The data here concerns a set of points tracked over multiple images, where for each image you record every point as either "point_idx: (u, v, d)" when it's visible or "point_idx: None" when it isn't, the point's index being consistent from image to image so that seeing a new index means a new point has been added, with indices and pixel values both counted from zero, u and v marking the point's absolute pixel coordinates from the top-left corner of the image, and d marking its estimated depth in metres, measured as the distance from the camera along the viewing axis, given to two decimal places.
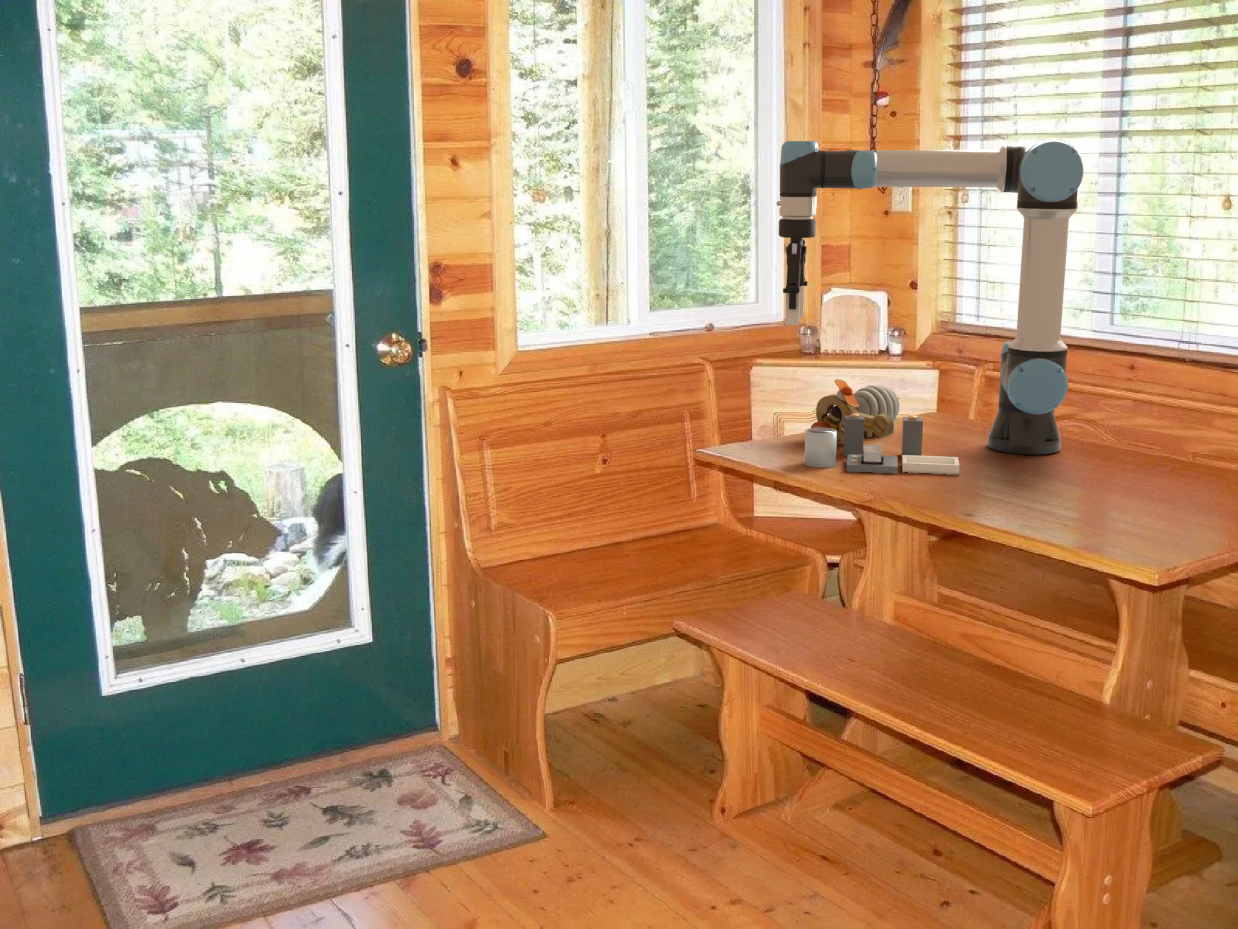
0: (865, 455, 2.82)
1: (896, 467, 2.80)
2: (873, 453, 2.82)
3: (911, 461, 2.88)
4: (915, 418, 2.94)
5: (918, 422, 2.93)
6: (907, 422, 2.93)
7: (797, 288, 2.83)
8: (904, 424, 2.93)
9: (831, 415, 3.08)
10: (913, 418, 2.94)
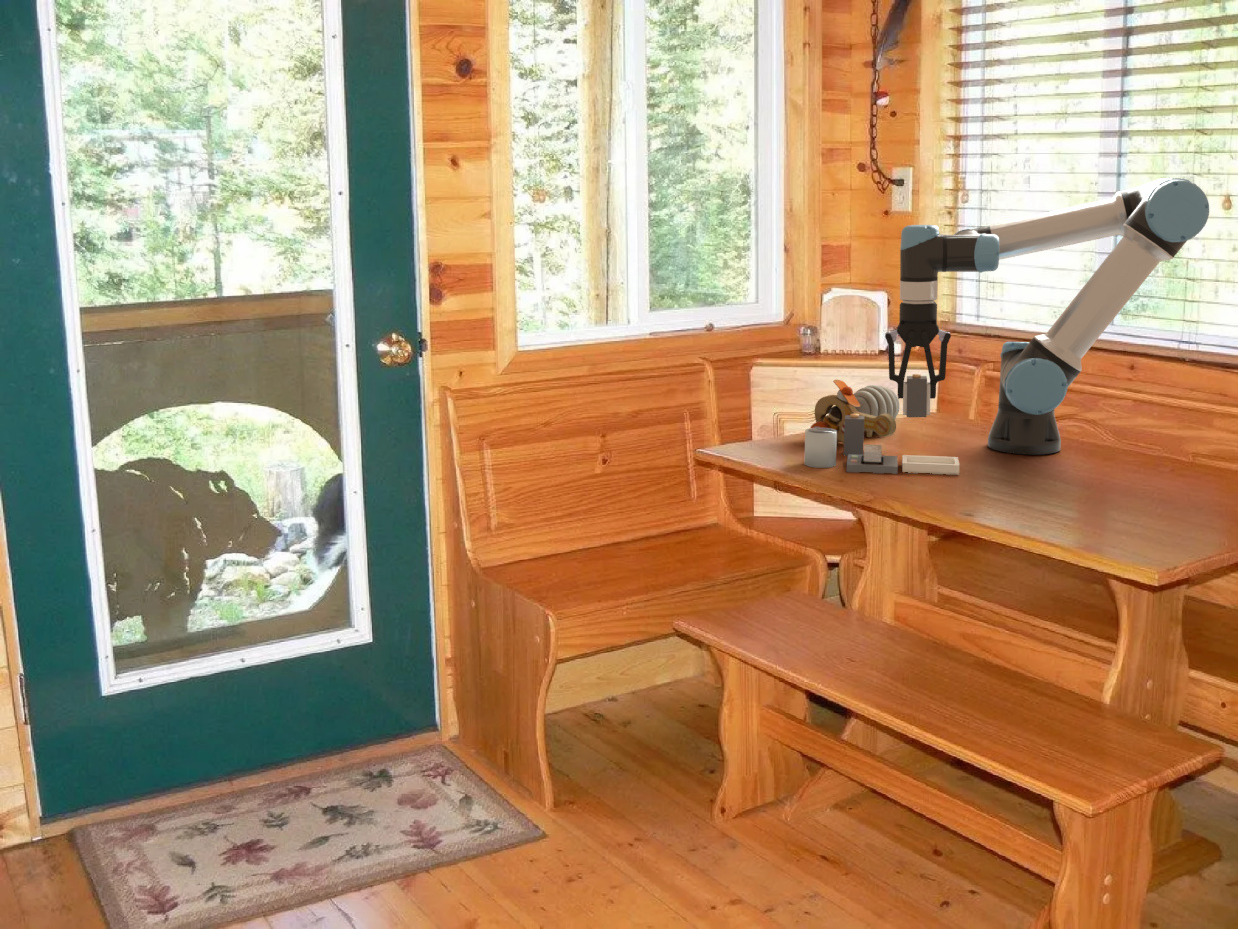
0: (865, 455, 2.82)
1: (896, 467, 2.80)
2: (873, 453, 2.82)
3: (911, 461, 2.88)
4: (919, 376, 2.92)
5: (922, 380, 2.90)
6: (911, 380, 2.91)
7: (890, 378, 2.93)
8: (908, 382, 2.91)
9: (831, 416, 3.07)
10: (917, 376, 2.92)
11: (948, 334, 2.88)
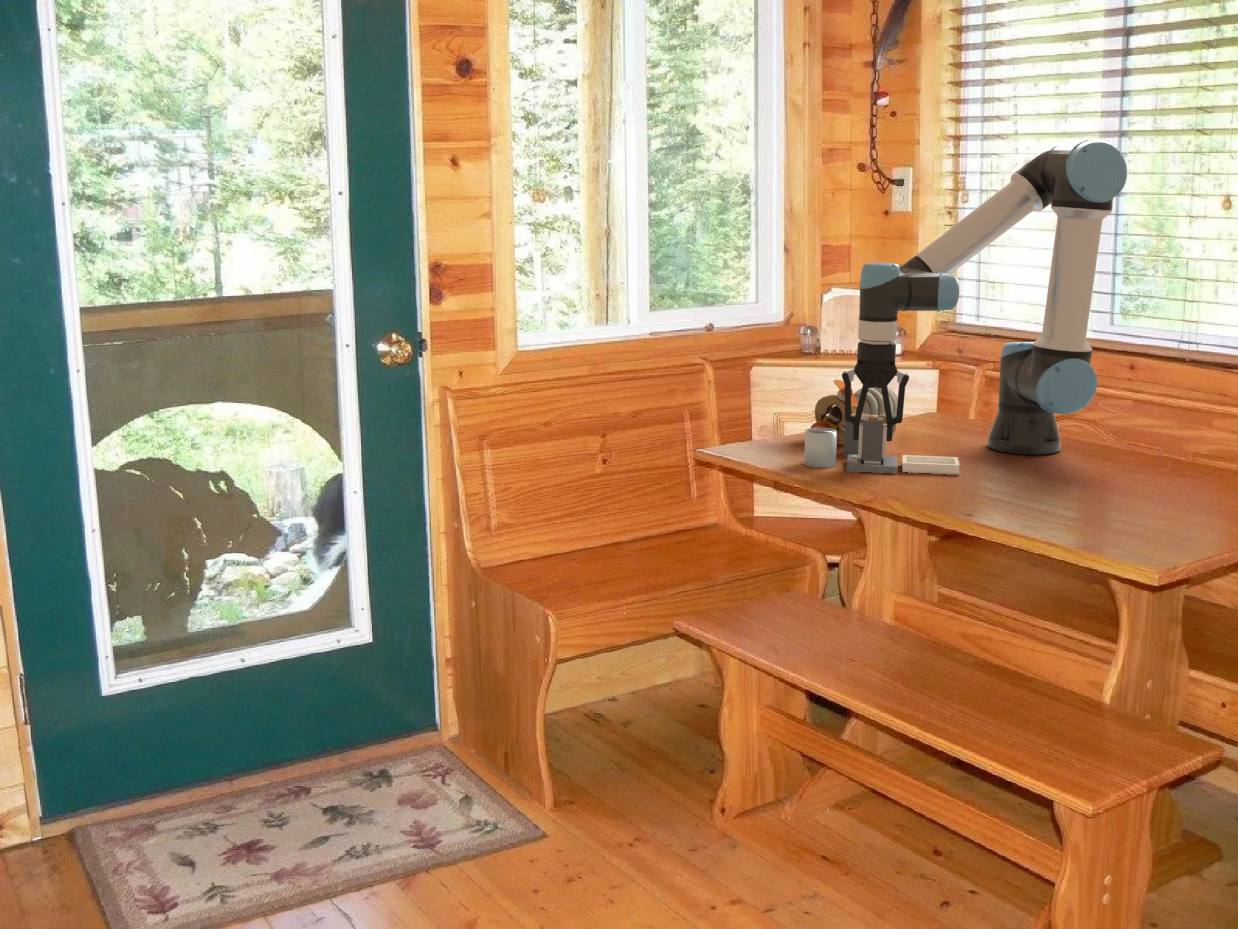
0: None
1: (896, 467, 2.80)
2: (873, 463, 2.82)
3: (911, 461, 2.88)
4: (875, 418, 2.83)
5: (878, 422, 2.82)
6: (867, 422, 2.82)
7: (845, 419, 2.84)
8: (864, 424, 2.83)
9: (831, 416, 3.07)
10: (873, 418, 2.83)
11: (906, 376, 2.80)
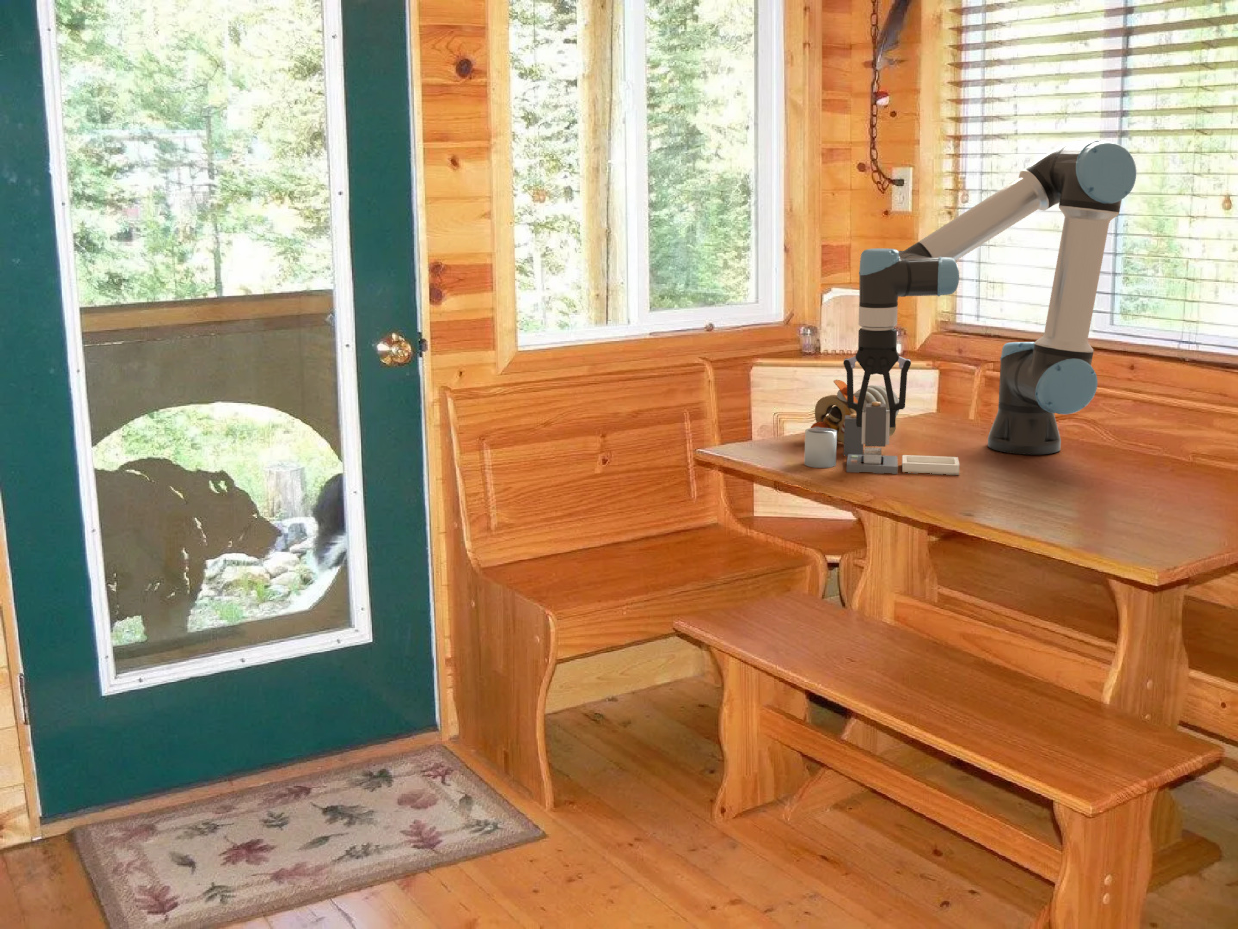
0: (865, 458, 2.83)
1: (896, 467, 2.80)
2: (873, 456, 2.82)
3: (911, 461, 2.88)
4: (878, 404, 2.83)
5: (881, 408, 2.81)
6: (870, 409, 2.82)
7: (848, 406, 2.83)
8: (867, 411, 2.82)
9: (831, 416, 3.07)
10: (876, 404, 2.83)
11: (908, 362, 2.79)
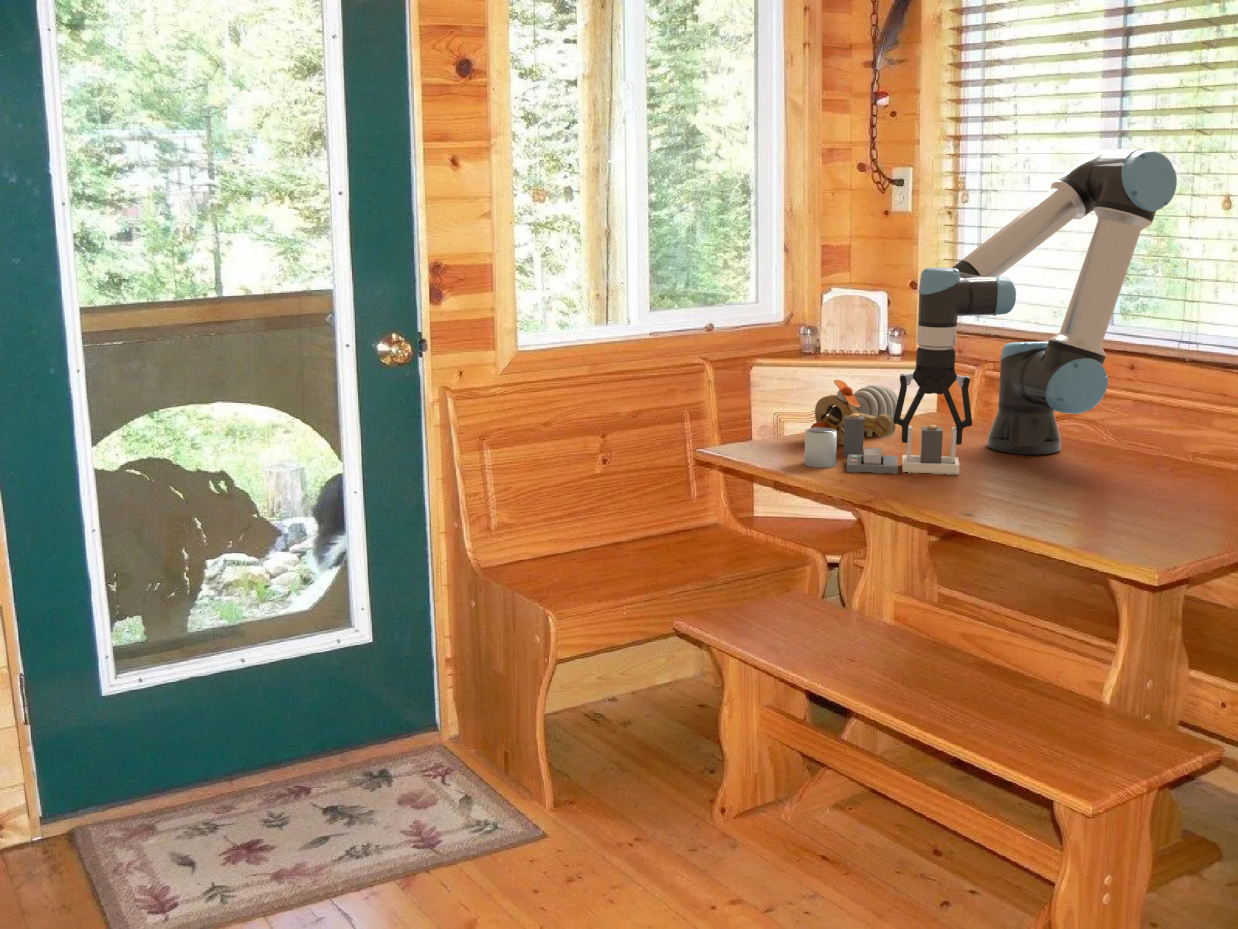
0: (865, 458, 2.83)
1: (896, 467, 2.80)
2: (873, 456, 2.82)
3: (911, 461, 2.88)
4: (934, 428, 2.82)
5: (938, 432, 2.80)
6: (926, 432, 2.81)
7: (894, 421, 2.82)
8: (923, 434, 2.81)
9: (831, 416, 3.07)
10: (932, 428, 2.81)
11: (967, 378, 2.78)
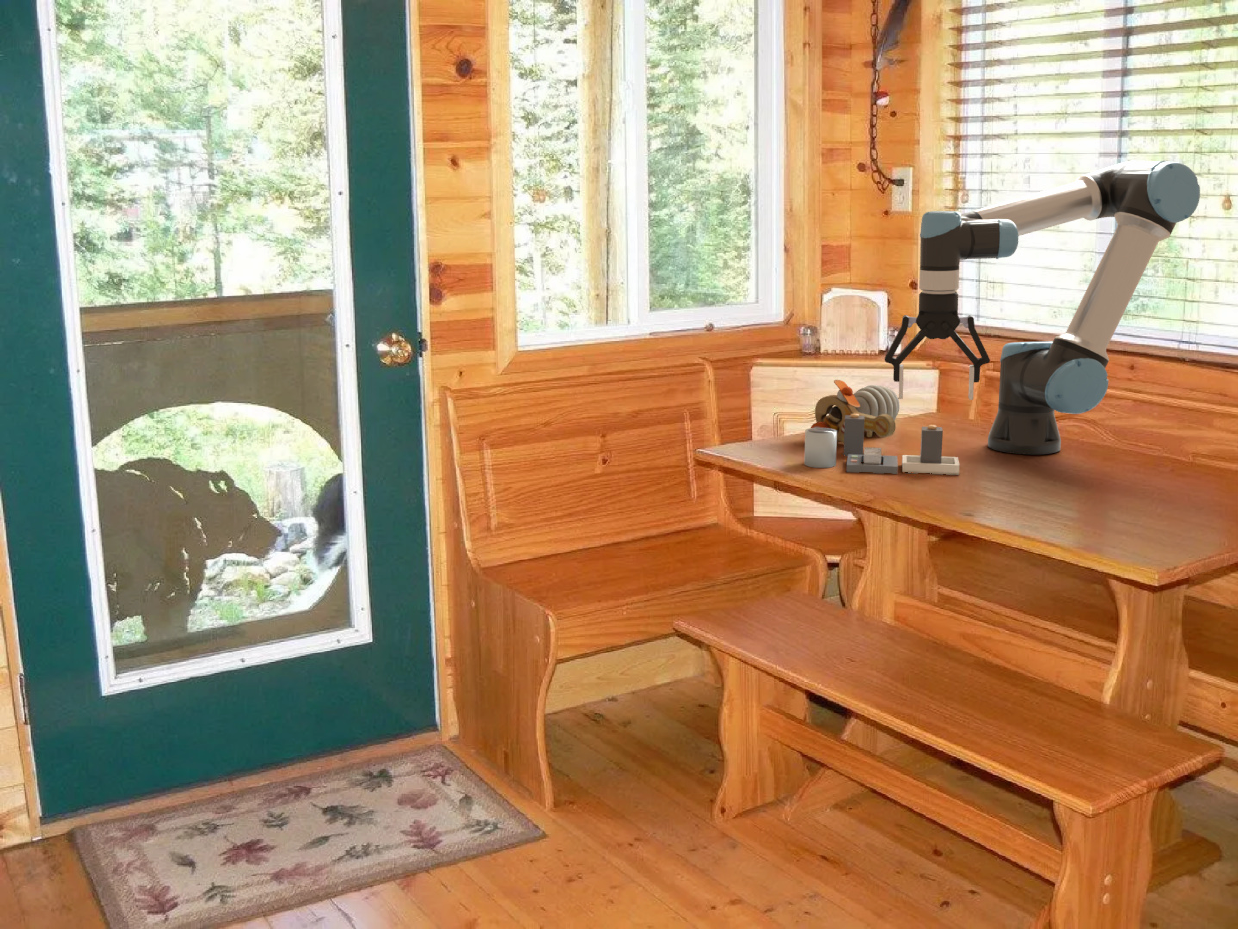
0: (865, 458, 2.83)
1: (896, 467, 2.80)
2: (873, 456, 2.82)
3: (911, 461, 2.88)
4: (934, 428, 2.82)
5: (938, 432, 2.80)
6: (926, 432, 2.81)
7: (885, 360, 2.80)
8: (923, 434, 2.81)
9: (831, 416, 3.07)
10: (932, 428, 2.81)
11: (970, 318, 2.75)
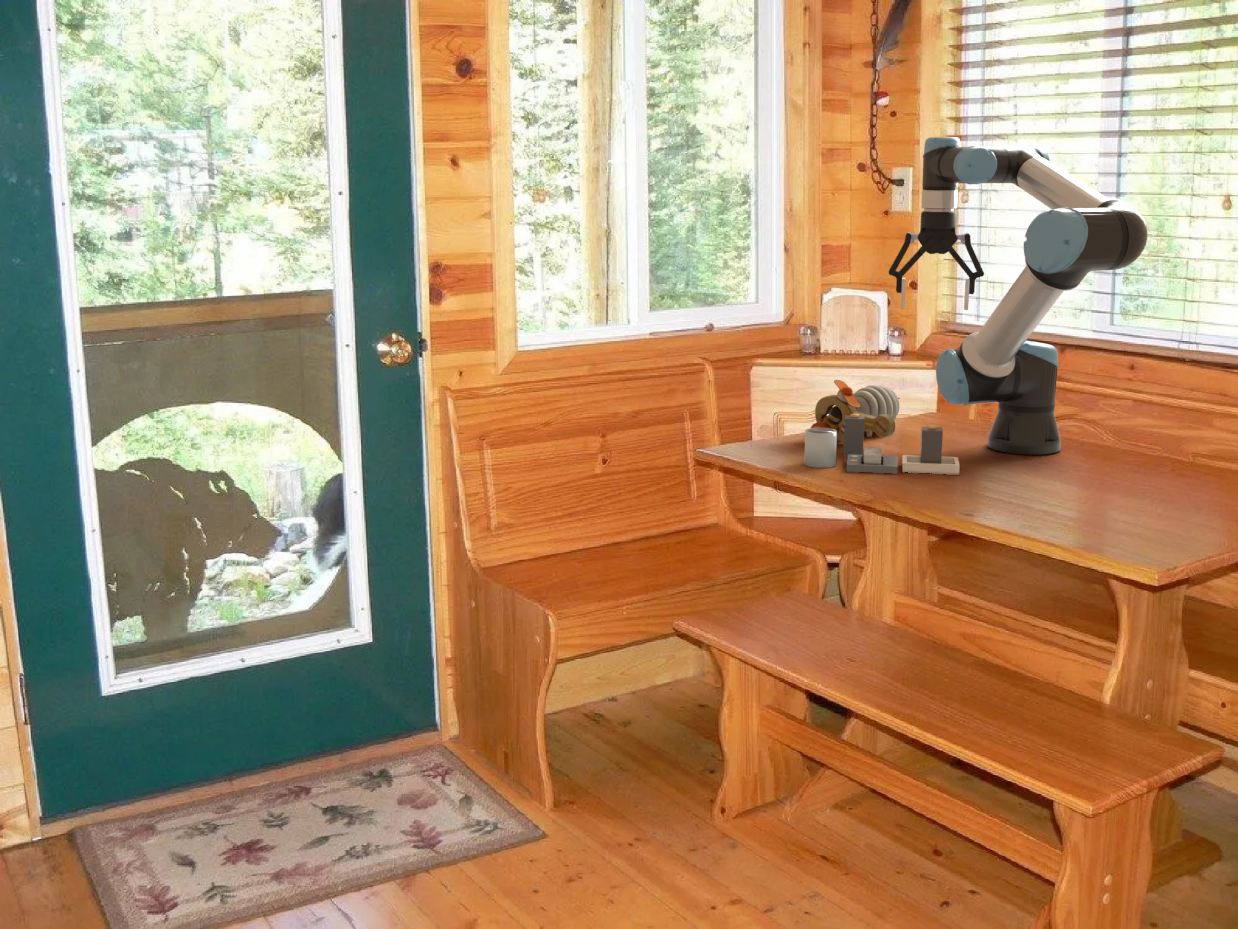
0: (865, 458, 2.83)
1: (896, 467, 2.80)
2: (873, 456, 2.82)
3: (911, 461, 2.88)
4: (934, 428, 2.82)
5: (938, 432, 2.80)
6: (926, 432, 2.81)
7: (889, 272, 3.08)
8: (923, 434, 2.81)
9: (831, 416, 3.07)
10: (932, 428, 2.81)
11: (967, 234, 3.04)
